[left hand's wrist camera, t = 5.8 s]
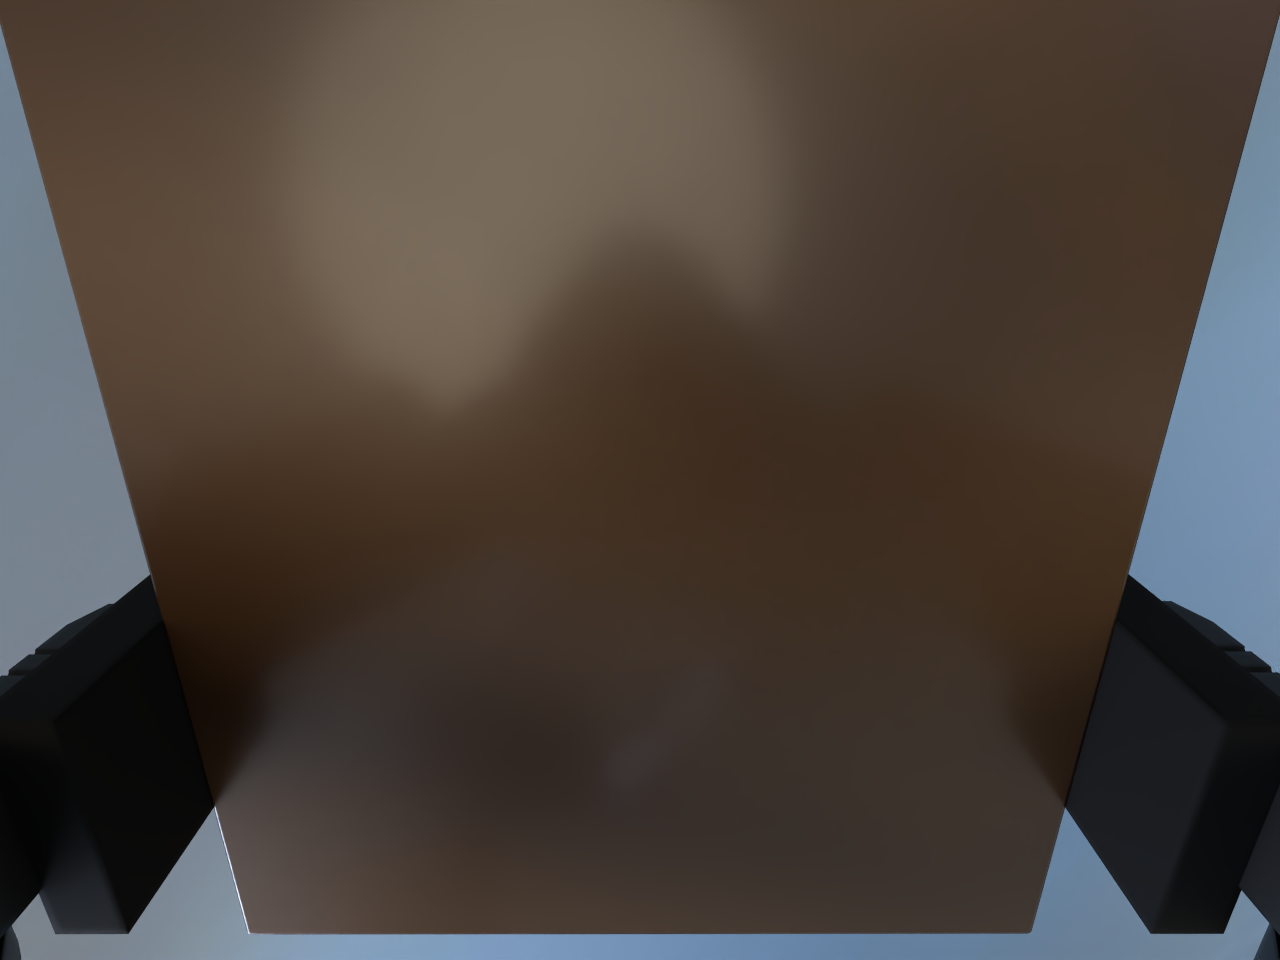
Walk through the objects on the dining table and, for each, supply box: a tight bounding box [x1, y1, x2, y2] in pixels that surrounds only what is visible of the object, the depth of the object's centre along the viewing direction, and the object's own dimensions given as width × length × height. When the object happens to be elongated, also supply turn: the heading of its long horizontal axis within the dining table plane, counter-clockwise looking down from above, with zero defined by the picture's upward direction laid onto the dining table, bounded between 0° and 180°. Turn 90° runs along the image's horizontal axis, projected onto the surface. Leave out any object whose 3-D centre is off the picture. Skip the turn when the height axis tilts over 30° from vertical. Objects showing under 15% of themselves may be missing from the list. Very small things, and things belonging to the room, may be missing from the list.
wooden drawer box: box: [0, 0, 1280, 934], centre depth 11 cm, size 21×11×11 cm, turn 0°
